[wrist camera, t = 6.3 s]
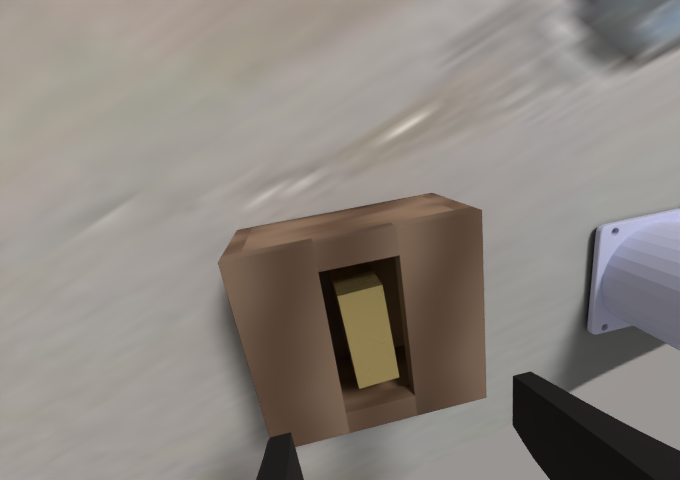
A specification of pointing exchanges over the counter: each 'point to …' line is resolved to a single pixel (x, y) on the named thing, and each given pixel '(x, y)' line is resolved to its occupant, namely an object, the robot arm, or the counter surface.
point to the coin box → (324, 322)
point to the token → (365, 323)
